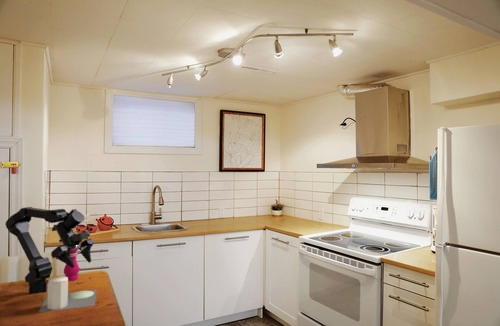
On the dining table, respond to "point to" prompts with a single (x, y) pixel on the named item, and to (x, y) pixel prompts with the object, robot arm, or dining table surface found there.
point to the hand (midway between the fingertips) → (82, 264)
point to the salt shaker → (57, 292)
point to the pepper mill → (72, 272)
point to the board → (75, 300)
